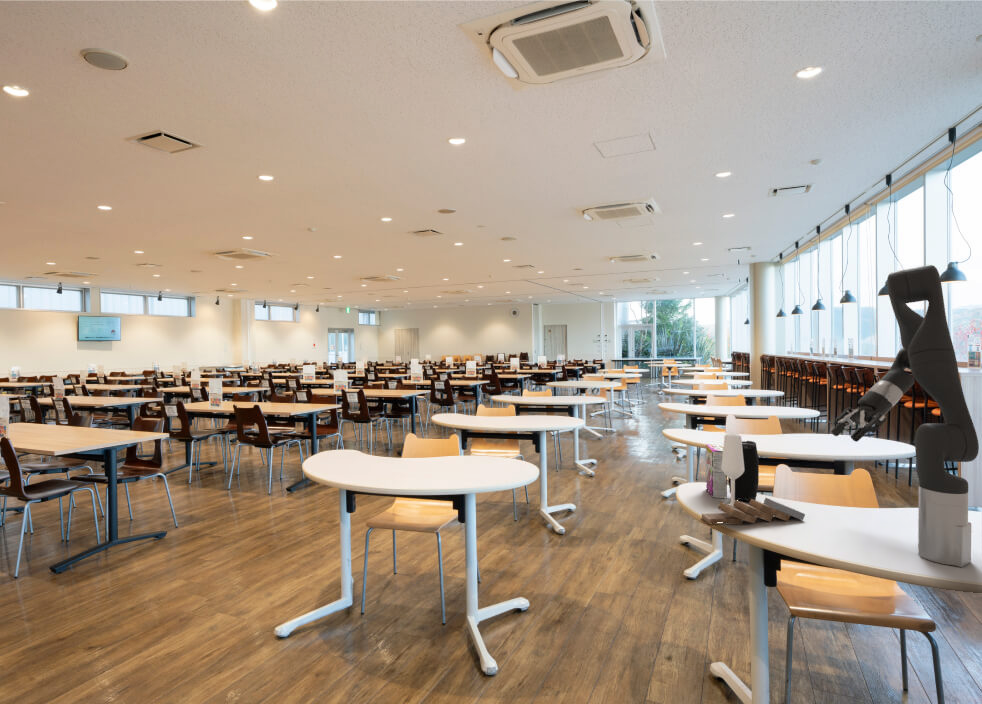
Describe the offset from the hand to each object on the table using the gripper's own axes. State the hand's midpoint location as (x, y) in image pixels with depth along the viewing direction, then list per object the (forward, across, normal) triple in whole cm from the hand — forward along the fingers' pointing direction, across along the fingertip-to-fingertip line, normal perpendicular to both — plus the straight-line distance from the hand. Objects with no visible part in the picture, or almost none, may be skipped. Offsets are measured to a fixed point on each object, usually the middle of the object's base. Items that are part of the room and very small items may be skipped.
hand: (843, 436), depth 158 cm
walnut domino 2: (+38, +2, -4) cm, 38 cm away
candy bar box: (+36, -27, -1) cm, 45 cm away
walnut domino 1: (+40, +1, -6) cm, 41 cm away
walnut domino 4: (+30, 0, +4) cm, 30 cm away
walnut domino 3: (+34, 0, 0) cm, 34 cm away
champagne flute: (+38, -10, -3) cm, 39 cm away
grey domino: (+26, -1, +7) cm, 27 cm away
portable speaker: (+32, -20, +3) cm, 38 cm away
